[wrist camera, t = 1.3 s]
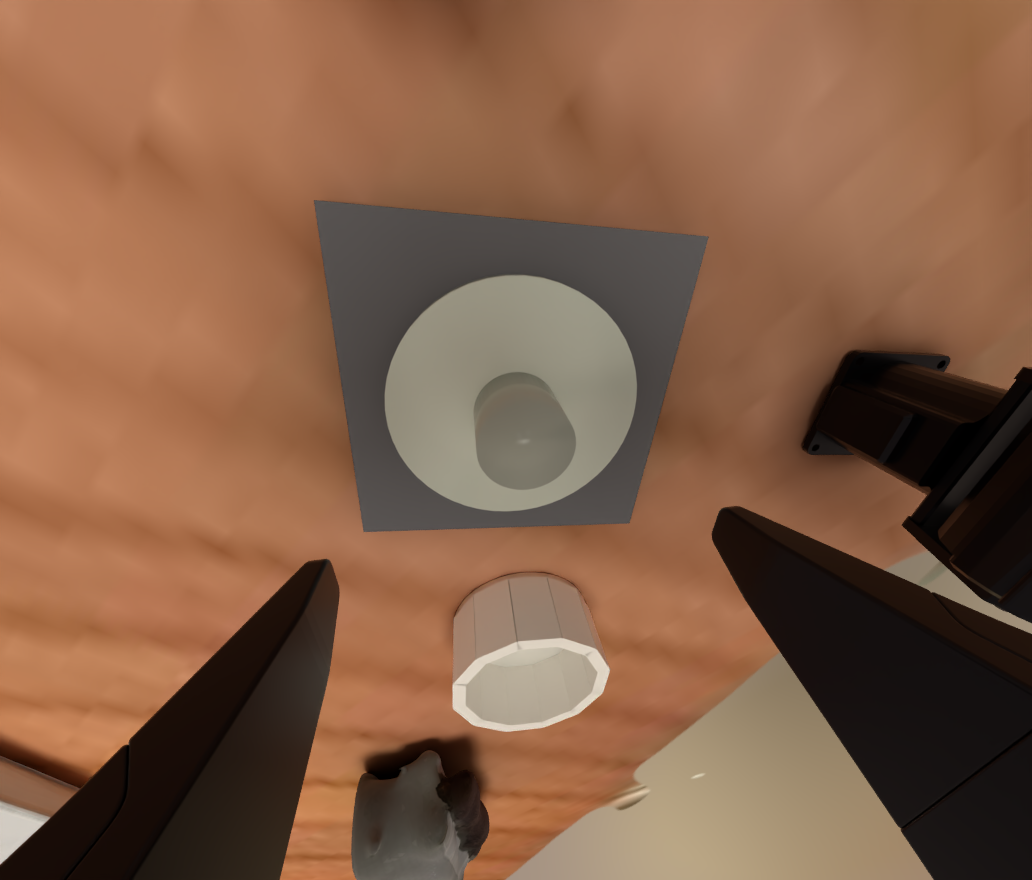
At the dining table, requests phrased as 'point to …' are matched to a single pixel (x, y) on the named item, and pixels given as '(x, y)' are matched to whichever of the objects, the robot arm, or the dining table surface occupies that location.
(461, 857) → the rock
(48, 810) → the square plate
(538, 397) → the lid
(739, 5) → the dining table surface
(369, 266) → the mat
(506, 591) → the bowl
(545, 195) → the dining table surface
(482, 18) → the dining table surface
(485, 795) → the dining table surface
